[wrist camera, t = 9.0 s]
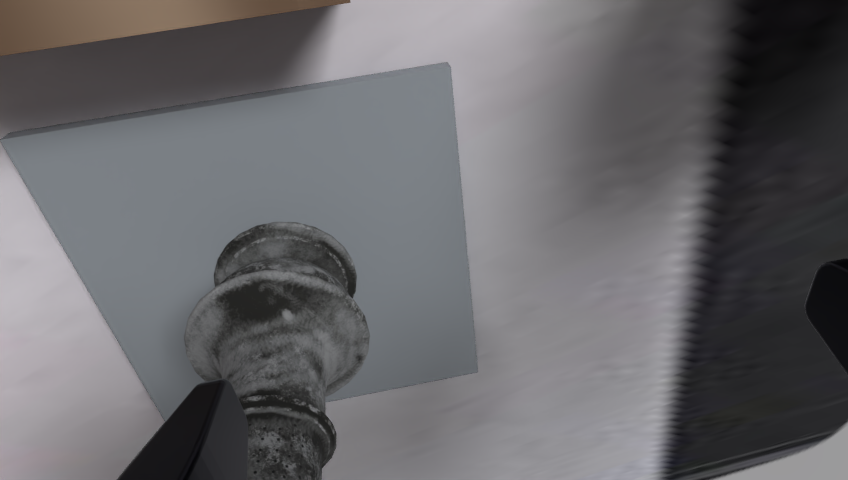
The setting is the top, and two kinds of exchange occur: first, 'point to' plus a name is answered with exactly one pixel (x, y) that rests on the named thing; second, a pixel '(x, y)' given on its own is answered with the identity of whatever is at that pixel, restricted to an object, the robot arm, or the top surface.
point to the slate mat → (268, 214)
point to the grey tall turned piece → (282, 341)
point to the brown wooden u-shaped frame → (121, 18)
